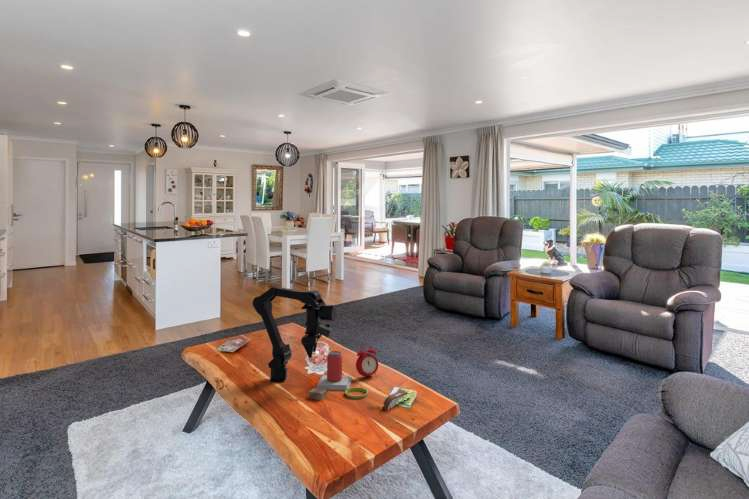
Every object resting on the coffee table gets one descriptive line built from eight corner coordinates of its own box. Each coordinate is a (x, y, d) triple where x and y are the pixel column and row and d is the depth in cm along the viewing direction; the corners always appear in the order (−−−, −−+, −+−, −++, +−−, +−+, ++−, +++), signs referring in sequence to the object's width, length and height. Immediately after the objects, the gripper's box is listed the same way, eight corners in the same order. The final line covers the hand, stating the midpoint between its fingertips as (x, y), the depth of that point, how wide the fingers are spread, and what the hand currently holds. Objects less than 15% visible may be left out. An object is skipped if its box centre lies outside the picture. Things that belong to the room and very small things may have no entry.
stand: (316, 389, 176) (316, 385, 176) (321, 378, 190) (321, 374, 190) (348, 390, 175) (349, 386, 175) (351, 379, 189) (351, 374, 189)
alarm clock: (360, 381, 187) (360, 348, 186) (354, 376, 193) (354, 344, 192) (380, 377, 192) (380, 345, 191) (374, 373, 197) (374, 342, 197)
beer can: (329, 383, 178) (330, 355, 178) (324, 378, 184) (325, 351, 184) (344, 381, 181) (344, 354, 180) (338, 376, 187) (339, 350, 186)
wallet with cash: (405, 407, 174) (405, 387, 173) (411, 409, 172) (411, 389, 171) (381, 418, 163) (381, 397, 162) (387, 421, 161) (387, 399, 160)
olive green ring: (357, 405, 178) (357, 385, 178) (372, 412, 171) (372, 391, 171) (340, 411, 172) (340, 391, 171) (355, 419, 165) (355, 397, 165)
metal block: (308, 398, 167) (308, 391, 167) (313, 395, 171) (313, 388, 171) (321, 401, 165) (321, 393, 165) (326, 397, 168) (326, 390, 168)
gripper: (327, 324, 172) (327, 361, 173) (333, 315, 191) (333, 349, 191) (301, 324, 173) (300, 361, 173) (309, 315, 191) (309, 348, 192)
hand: (312, 354), depth 182 cm, fingers open, 9 cm apart
